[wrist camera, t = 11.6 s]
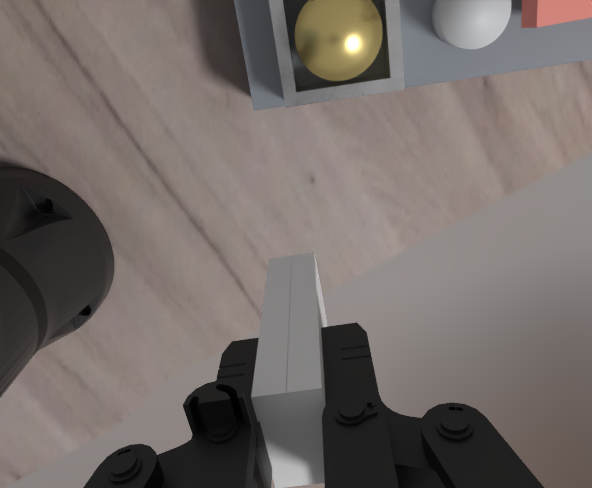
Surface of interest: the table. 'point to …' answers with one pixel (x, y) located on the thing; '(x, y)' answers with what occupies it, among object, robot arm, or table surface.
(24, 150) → the table surface
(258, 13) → the panel
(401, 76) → the button housing
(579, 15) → the block
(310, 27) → the brass button
